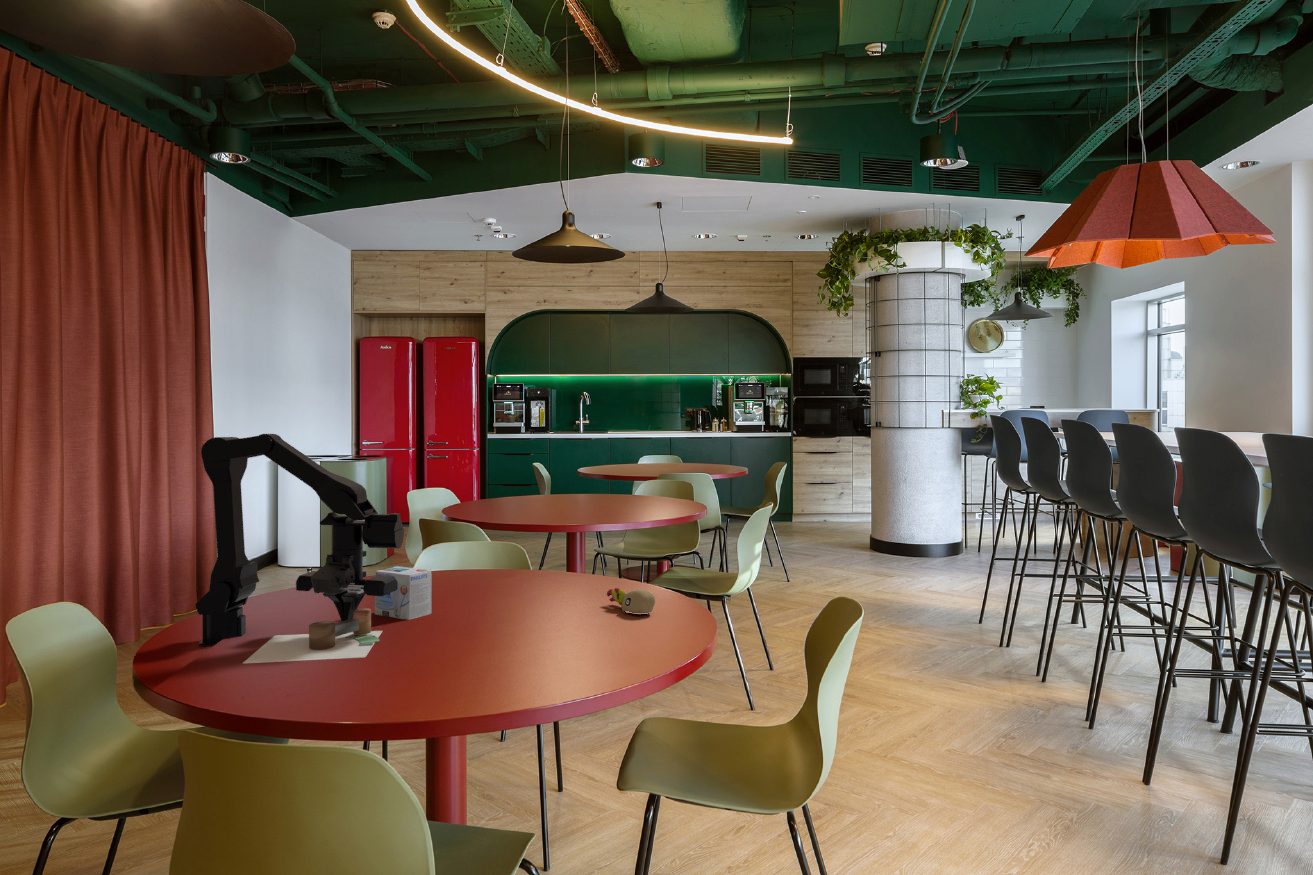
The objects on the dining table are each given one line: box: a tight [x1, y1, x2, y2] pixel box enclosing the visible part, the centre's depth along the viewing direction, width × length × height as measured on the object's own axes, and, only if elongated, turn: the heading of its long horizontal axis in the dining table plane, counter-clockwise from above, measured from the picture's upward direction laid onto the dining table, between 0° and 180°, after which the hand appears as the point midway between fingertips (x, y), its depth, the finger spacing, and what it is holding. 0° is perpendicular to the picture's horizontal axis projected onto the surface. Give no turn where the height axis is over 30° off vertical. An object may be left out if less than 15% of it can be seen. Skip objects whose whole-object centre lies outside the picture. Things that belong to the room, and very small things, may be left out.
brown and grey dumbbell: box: [308, 607, 372, 649], centre depth 145 cm, size 13×4×5 cm, turn 151°
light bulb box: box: [374, 566, 433, 621], centre depth 167 cm, size 11×7×11 cm, turn 62°
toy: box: [606, 587, 656, 614], centre depth 175 cm, size 6×7×15 cm
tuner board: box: [242, 630, 383, 664], centre depth 142 cm, size 21×18×1 cm
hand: (346, 626), depth 150 cm, fingers closed
